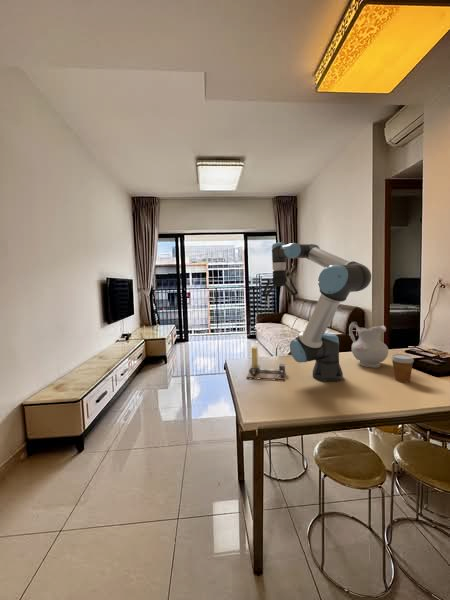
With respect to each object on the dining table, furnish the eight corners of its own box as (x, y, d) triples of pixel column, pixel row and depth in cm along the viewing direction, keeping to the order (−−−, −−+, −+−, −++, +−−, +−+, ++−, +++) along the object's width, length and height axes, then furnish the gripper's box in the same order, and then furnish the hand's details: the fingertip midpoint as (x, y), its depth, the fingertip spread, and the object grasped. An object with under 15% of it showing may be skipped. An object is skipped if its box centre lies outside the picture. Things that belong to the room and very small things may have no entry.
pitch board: (285, 372, 150) (285, 363, 150) (284, 380, 139) (284, 370, 138) (250, 371, 156) (249, 362, 155) (246, 378, 144) (246, 368, 144)
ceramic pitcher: (343, 366, 160) (341, 326, 157) (352, 356, 174) (351, 319, 171) (384, 373, 146) (384, 329, 142) (391, 361, 160) (391, 321, 157)
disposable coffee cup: (411, 377, 135) (411, 354, 134) (416, 384, 126) (416, 359, 126) (389, 375, 139) (389, 353, 138) (392, 382, 131) (392, 358, 130)
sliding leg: (260, 370, 153) (259, 346, 152) (258, 375, 145) (257, 350, 144) (251, 369, 154) (250, 346, 154) (249, 374, 146) (248, 350, 145)
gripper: (301, 269, 154) (302, 305, 156) (258, 271, 161) (259, 306, 162) (301, 268, 147) (302, 307, 148) (256, 271, 153) (258, 307, 155)
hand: (280, 306), depth 155 cm, fingers open, 13 cm apart
